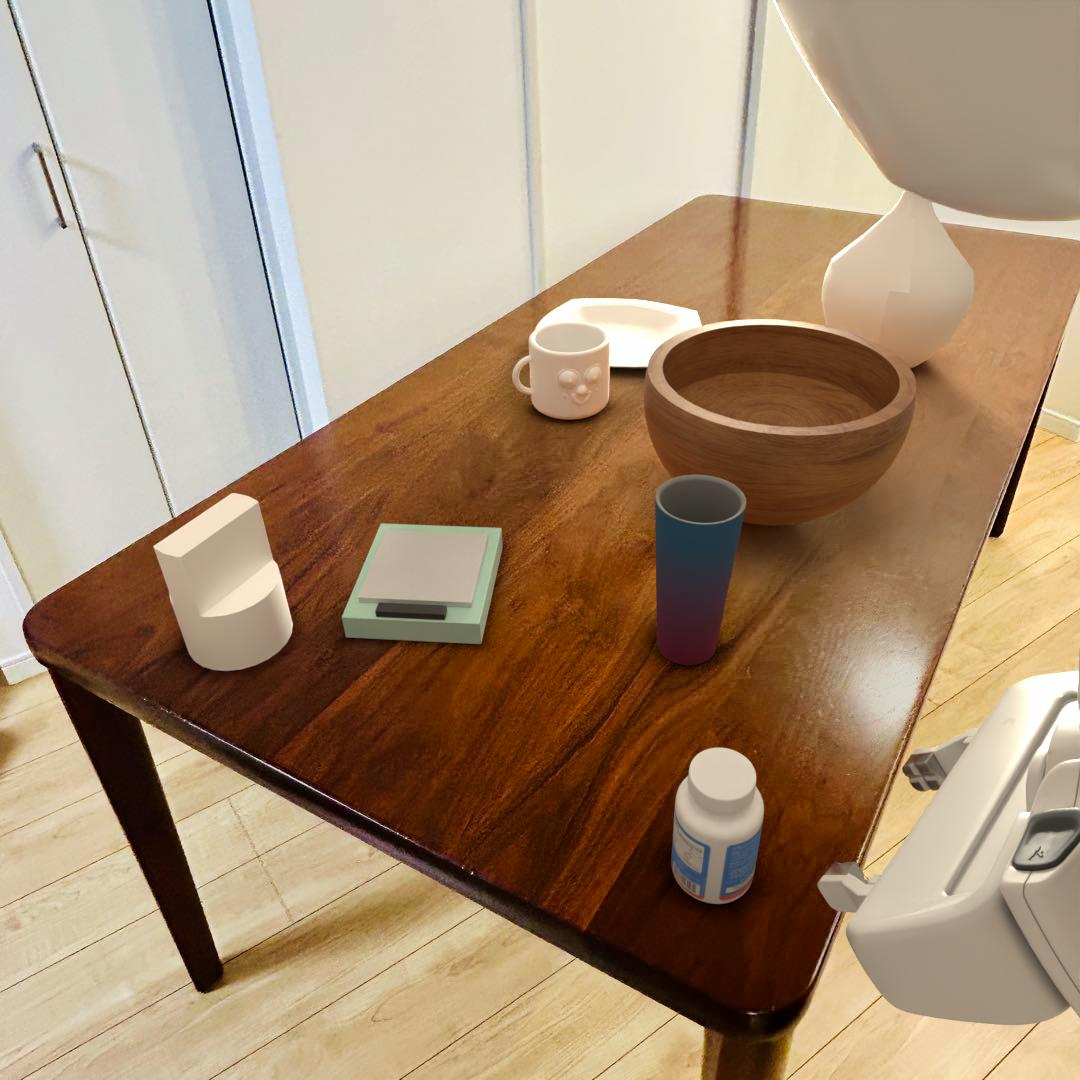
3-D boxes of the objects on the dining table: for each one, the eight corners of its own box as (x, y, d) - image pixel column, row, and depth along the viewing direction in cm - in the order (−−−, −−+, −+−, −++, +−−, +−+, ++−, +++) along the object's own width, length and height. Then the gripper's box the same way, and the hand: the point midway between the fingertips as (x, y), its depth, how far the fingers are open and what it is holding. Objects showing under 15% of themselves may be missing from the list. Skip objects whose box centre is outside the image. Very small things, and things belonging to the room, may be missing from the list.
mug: (525, 435, 106) (522, 364, 101) (504, 397, 114) (501, 329, 109) (621, 420, 109) (623, 350, 103) (594, 383, 117) (595, 316, 111)
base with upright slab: (241, 684, 74) (206, 570, 67) (165, 649, 78) (123, 537, 71) (314, 620, 81) (288, 509, 74) (239, 590, 84) (208, 482, 77)
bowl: (802, 615, 80) (830, 469, 71) (589, 508, 94) (590, 376, 85) (929, 497, 94) (966, 364, 85) (727, 420, 108) (741, 299, 99)
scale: (481, 644, 78) (478, 617, 76) (345, 637, 79) (339, 610, 77) (502, 547, 89) (501, 521, 87) (383, 542, 90) (379, 517, 88)
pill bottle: (750, 838, 61) (768, 741, 56) (755, 911, 57) (775, 814, 51) (669, 830, 62) (678, 734, 56) (668, 901, 58) (678, 805, 52)
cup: (742, 659, 75) (764, 511, 66) (669, 682, 73) (682, 533, 64) (701, 610, 80) (716, 466, 72) (632, 630, 78) (639, 485, 70)
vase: (783, 349, 124) (817, 113, 106) (873, 317, 132) (919, 93, 114) (892, 399, 111) (951, 141, 93) (984, 361, 119) (1055, 117, 101)
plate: (684, 388, 115) (685, 374, 114) (513, 368, 121) (512, 354, 120) (713, 319, 133) (714, 306, 131) (562, 304, 139) (562, 291, 138)
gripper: (1178, 614, 42) (925, 668, 53) (1020, 922, 30) (737, 908, 41) (1249, 727, 42) (982, 757, 53) (1120, 1078, 30) (810, 1022, 41)
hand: (873, 825), depth 47 cm, fingers open, 8 cm apart
